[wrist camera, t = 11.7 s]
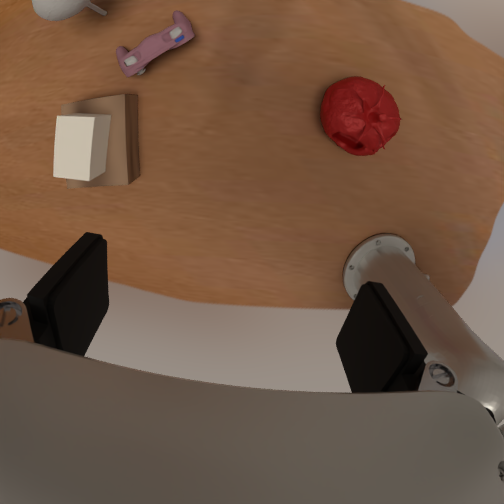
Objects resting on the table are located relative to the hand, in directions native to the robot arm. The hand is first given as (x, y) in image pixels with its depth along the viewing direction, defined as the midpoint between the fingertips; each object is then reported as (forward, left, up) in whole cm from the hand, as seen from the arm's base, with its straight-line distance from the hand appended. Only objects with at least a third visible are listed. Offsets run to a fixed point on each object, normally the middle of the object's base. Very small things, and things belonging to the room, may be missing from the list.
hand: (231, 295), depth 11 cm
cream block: (+18, 0, -26) cm, 31 cm away
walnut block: (+18, 0, -31) cm, 35 cm away
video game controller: (+13, -13, -31) cm, 36 cm away
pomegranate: (-13, -9, -31) cm, 34 cm away
